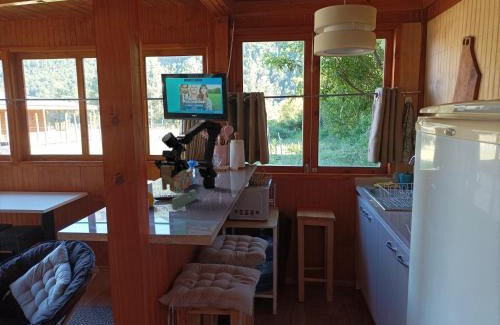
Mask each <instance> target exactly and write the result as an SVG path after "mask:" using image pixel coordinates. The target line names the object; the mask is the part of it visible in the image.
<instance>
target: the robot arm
mask: <svg viewBox="0 0 500 325" xmlns="http://www.w3.org/2000/svg"><path fill="white" fill-rule="evenodd" d="M222 128H223V126H222V124H221V123H220V122H219V121H217V122H215V121H212V120H208V119H201V120H200V121H199V122H198V123H196V124H195V125H194V126H192V127H191V128H189V130H187V131H184V132H182V133H179V134H177V135H176V136H175V135H174V133H172V132H170V131H169V132H168V133H166V134H164V136H162V138H161V142H162V143H163V144H164V145H165V146H166V147H167V148H168V150H167V149H166V150H162V152H161V157H162V158H164V160H165V161H164V160H163V159H161V158H160V159H159V158H156V159H154V161H153V165H155V166H156V168H157V169H158V170H159V178H161V179H162V177H161V166H173V172H172V174H171V178H173V177H174V176H176V175H177V174H178V173H180V172H181V171H183V170H190V169H189V168H190V164H189V163H188V161H187V160H186V159H183V158H182V155H183V153H184V152H187V149H186V146H189V145H190V144H191V143H192V142H193V140H194V138H195V137H196V136H197V135H198V134H200V133H201V132H202V131H203V130H205V129H206V133H207V136H208V137H207V140H206V141H207V142H206V148H205V151H204V152H205V153H204V157H203V160H202V161H200V162H199V164H198V167H197V168H198V173H199V175H200V178H203V179H202V187H203V188H204V190H206V189H214V188H217V187H216V181H215V180H216V179H215V178H217V176H218V173H217V172H216V171H215V169H214V167H215V166H214V162H213V159H214V155H215V148H216V143H217V139H218V137H219V136H220V135H221V131H222ZM184 145H185V146H184ZM169 149H171V150H169Z"/></svg>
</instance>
